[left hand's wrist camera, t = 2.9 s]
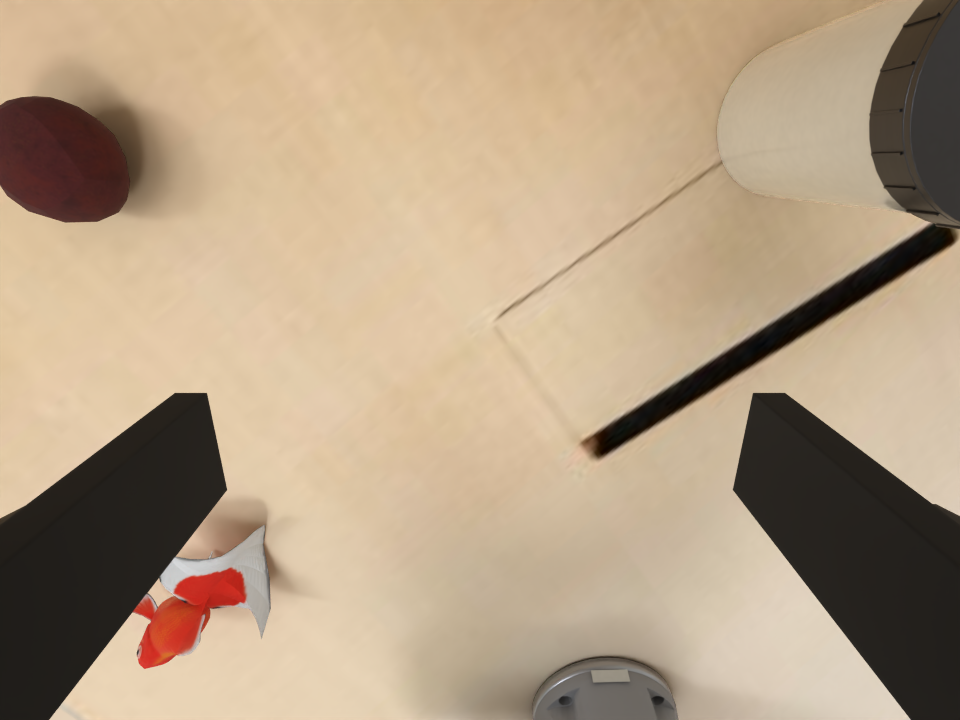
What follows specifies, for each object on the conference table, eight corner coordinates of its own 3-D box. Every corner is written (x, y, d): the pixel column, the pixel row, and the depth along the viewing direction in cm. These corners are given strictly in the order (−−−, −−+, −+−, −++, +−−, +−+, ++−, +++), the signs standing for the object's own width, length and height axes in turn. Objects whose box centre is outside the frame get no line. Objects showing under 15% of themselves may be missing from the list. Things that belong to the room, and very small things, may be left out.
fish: (68, 588, 44) (56, 689, 37) (226, 469, 48) (246, 538, 40) (162, 635, 51) (168, 728, 43) (295, 527, 54) (323, 596, 47)
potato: (91, 80, 34) (0, 60, 28) (176, 181, 37) (110, 186, 30) (20, 146, 36) (-84, 142, 29) (105, 240, 38) (27, 256, 32)
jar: (688, 158, 36) (855, 154, 20) (775, 7, 33) (1057, -143, 17) (802, 221, 38) (1042, 263, 22) (896, 82, 35) (1261, 12, 18)
